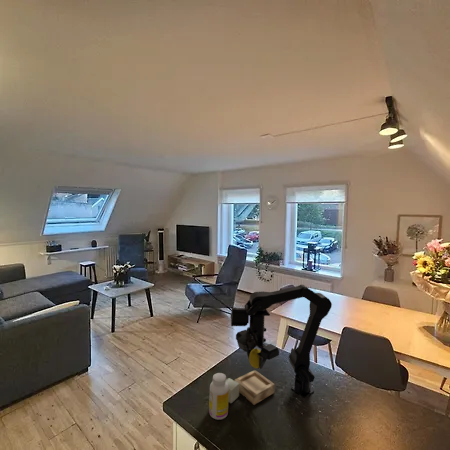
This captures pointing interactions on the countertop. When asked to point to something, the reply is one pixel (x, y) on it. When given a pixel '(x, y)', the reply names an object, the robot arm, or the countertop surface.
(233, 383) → the ceramic cube
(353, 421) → the countertop surface
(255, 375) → the square tray
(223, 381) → the supplement bottle
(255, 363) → the lemon
